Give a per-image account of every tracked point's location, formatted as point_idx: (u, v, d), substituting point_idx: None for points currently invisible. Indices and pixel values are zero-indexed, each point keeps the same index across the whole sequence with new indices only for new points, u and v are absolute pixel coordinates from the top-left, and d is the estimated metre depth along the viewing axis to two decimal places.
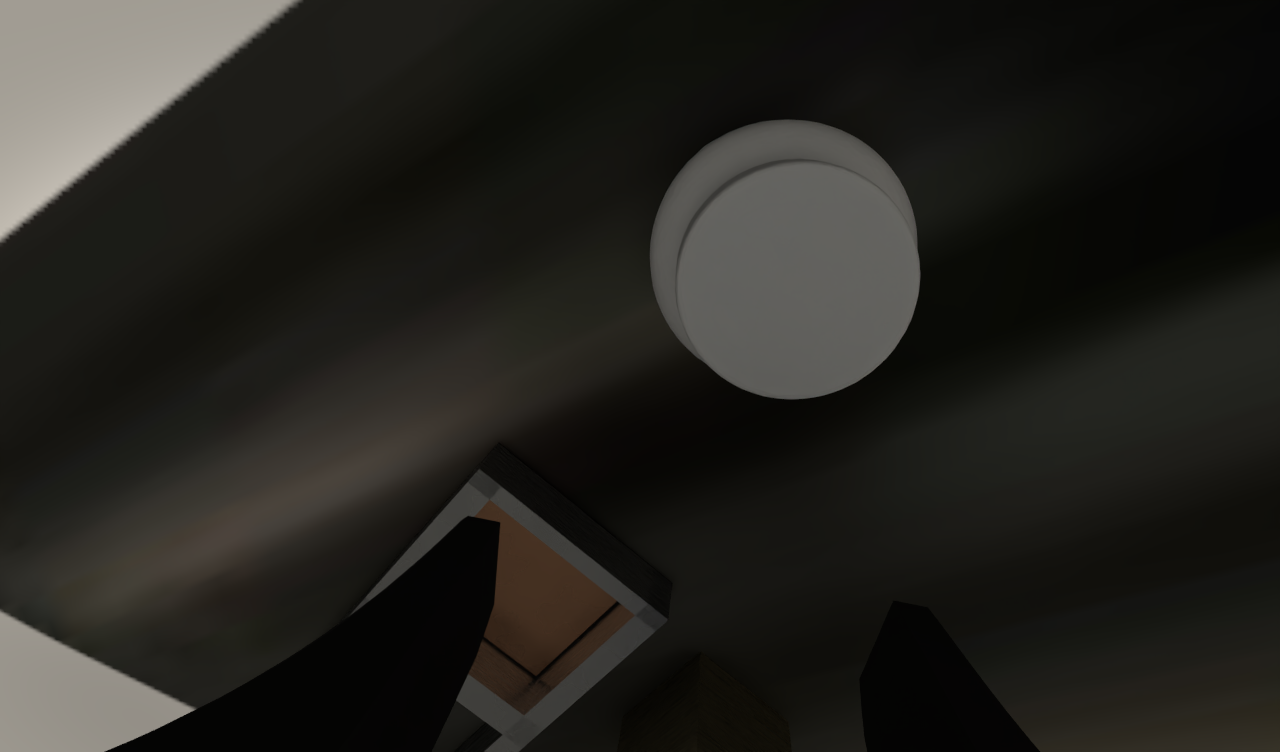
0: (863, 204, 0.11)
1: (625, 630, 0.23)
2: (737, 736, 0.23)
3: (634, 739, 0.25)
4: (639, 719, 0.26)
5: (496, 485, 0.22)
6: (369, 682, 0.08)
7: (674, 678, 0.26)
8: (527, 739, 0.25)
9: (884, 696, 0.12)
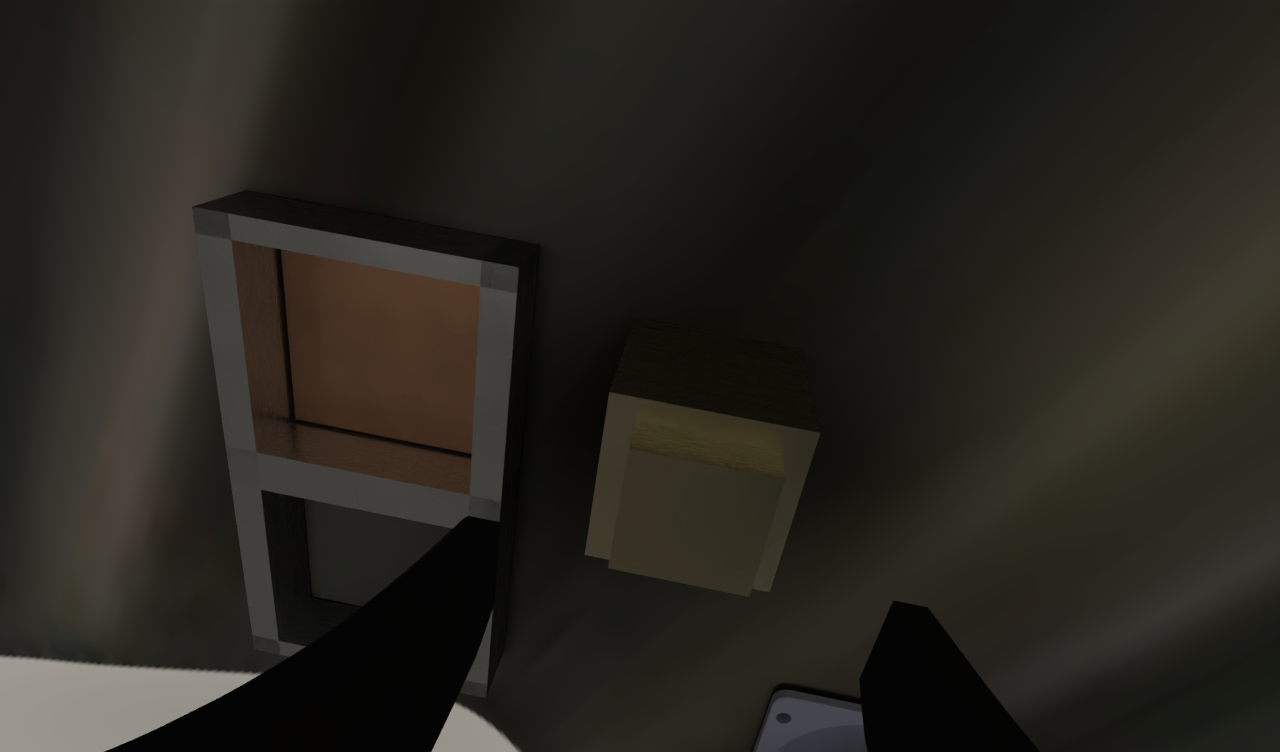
0: None
1: (486, 315, 0.17)
2: (696, 371, 0.16)
3: None
4: None
5: (223, 216, 0.17)
6: (369, 683, 0.08)
7: None
8: None
9: (884, 696, 0.12)
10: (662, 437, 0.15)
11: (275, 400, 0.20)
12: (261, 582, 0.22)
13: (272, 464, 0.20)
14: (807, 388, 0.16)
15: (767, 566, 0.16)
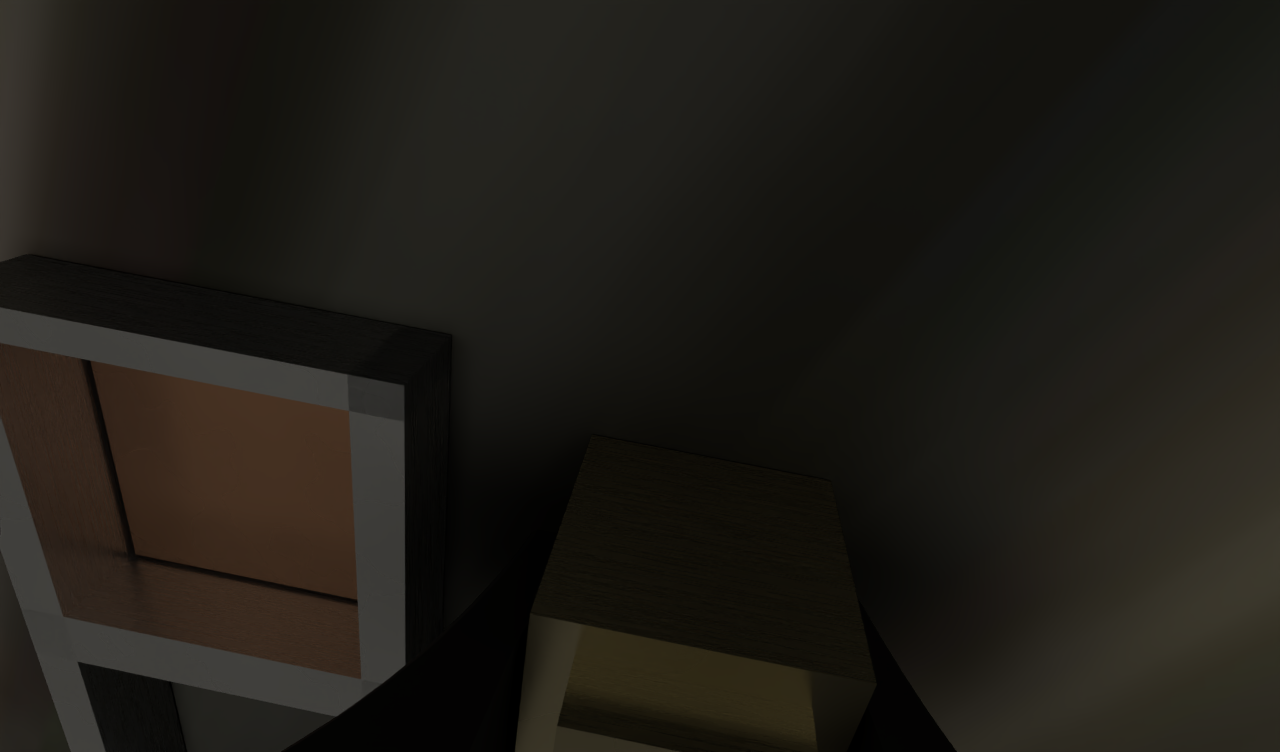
0: None
1: (361, 450, 0.11)
2: (675, 549, 0.10)
3: None
4: None
5: None
6: (472, 704, 0.08)
7: None
8: None
9: None
10: (616, 689, 0.09)
11: (94, 539, 0.14)
12: None
13: (87, 632, 0.14)
14: (847, 573, 0.11)
15: None
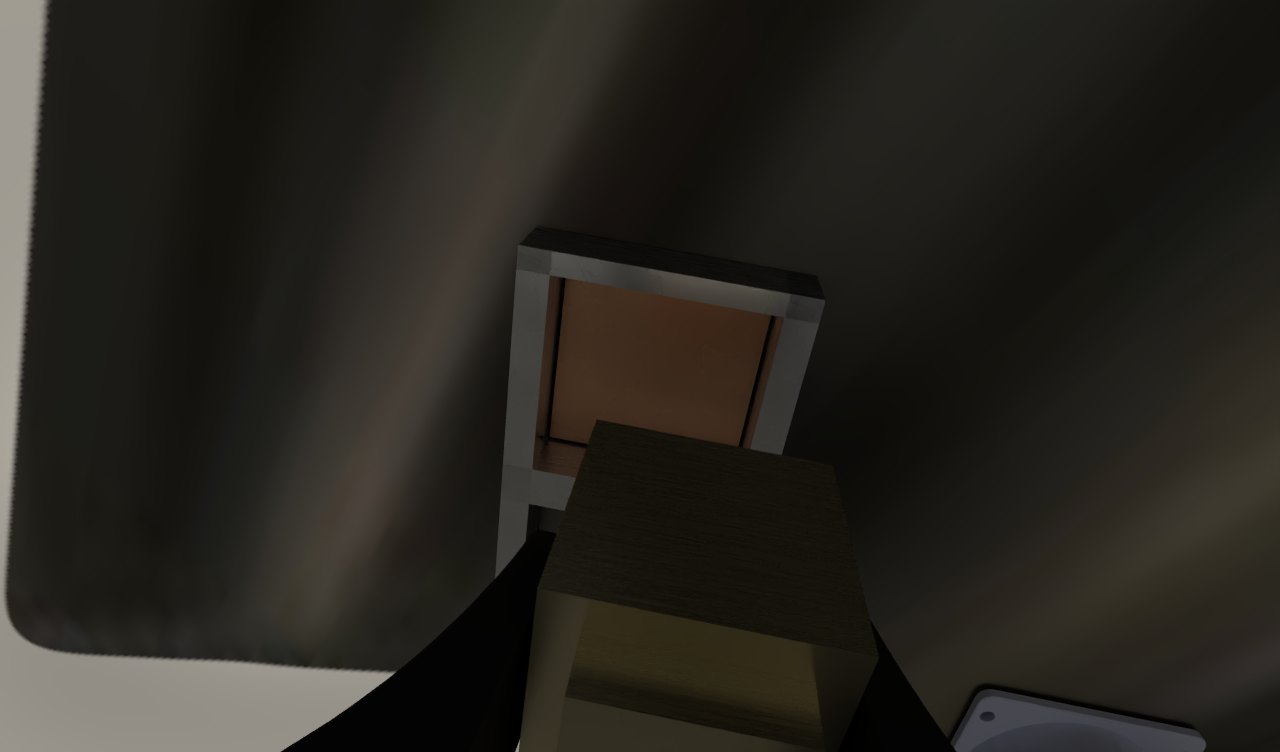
0: None
1: (784, 343, 0.18)
2: (679, 527, 0.11)
3: None
4: None
5: (546, 253, 0.18)
6: (472, 704, 0.08)
7: None
8: None
9: None
10: (623, 662, 0.09)
11: (543, 420, 0.21)
12: None
13: (545, 480, 0.21)
14: (849, 552, 0.11)
15: None
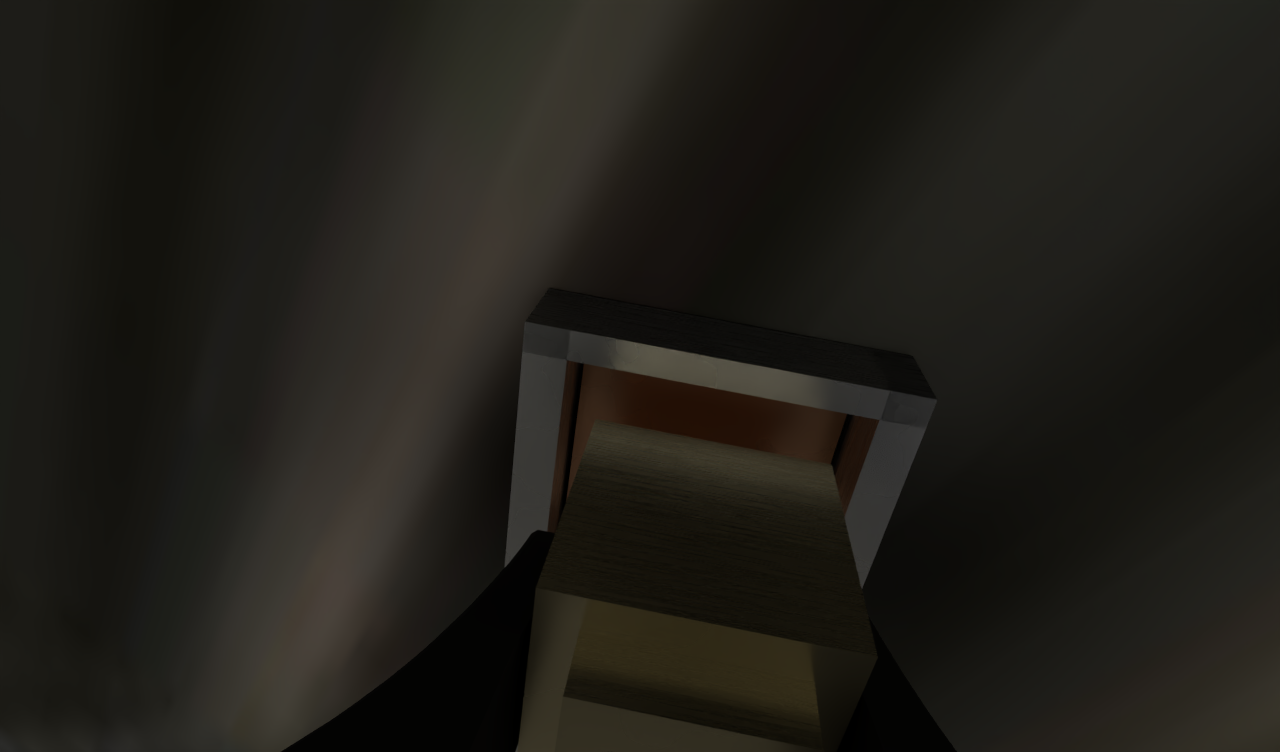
0: None
1: (877, 451, 0.14)
2: (678, 527, 0.11)
3: None
4: None
5: (563, 333, 0.13)
6: (472, 704, 0.08)
7: None
8: None
9: None
10: (621, 662, 0.09)
11: (554, 527, 0.17)
12: None
13: None
14: (848, 552, 0.11)
15: None
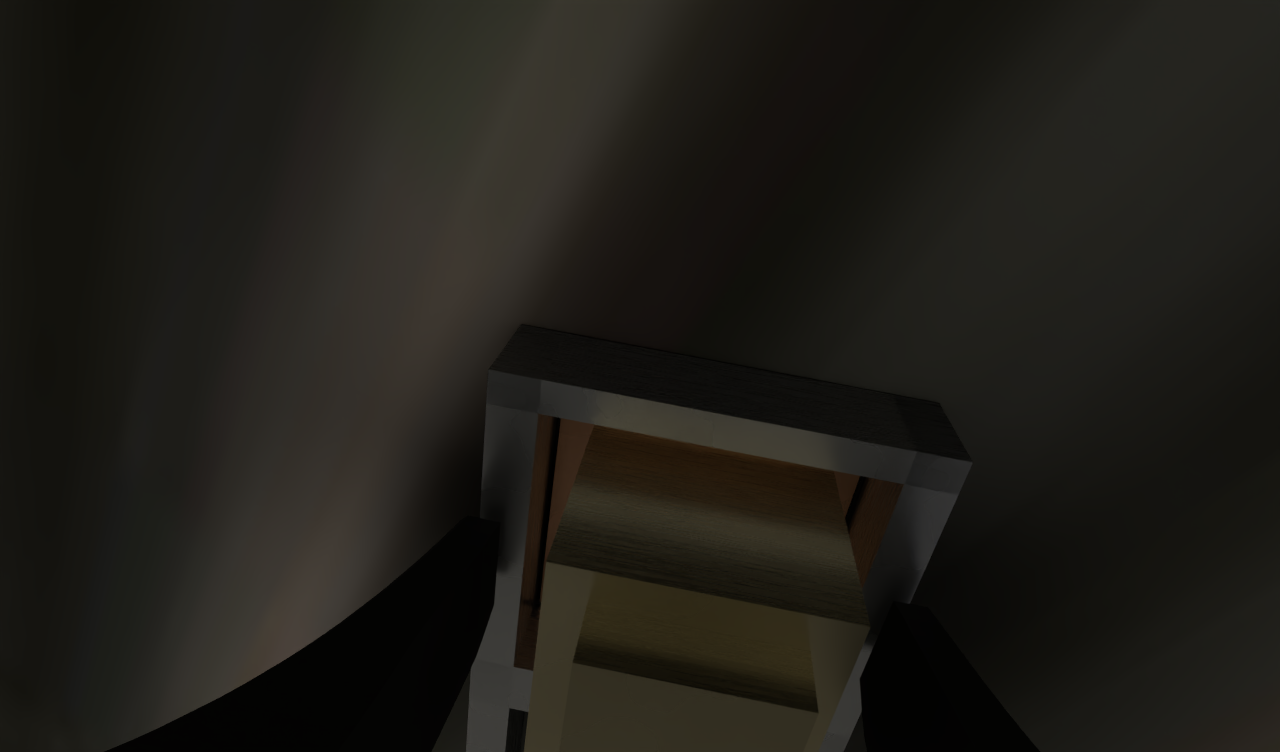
0: None
1: (900, 519, 0.12)
2: (681, 507, 0.11)
3: None
4: None
5: (533, 382, 0.11)
6: (369, 683, 0.08)
7: None
8: None
9: (884, 696, 0.12)
10: (627, 632, 0.09)
11: (530, 591, 0.15)
12: None
13: None
14: (843, 531, 0.11)
15: None
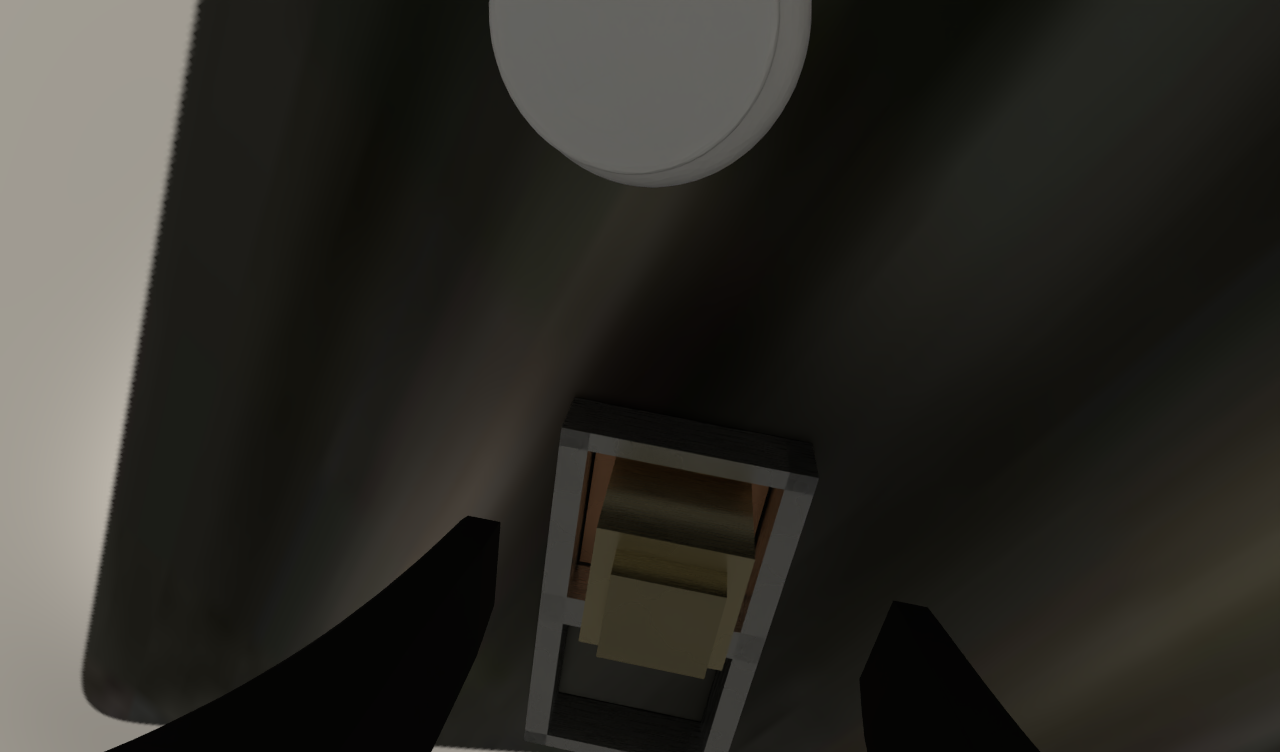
0: None
1: (784, 508, 0.22)
2: (664, 501, 0.21)
3: None
4: None
5: (585, 434, 0.21)
6: (369, 683, 0.08)
7: None
8: (757, 653, 0.24)
9: (884, 696, 0.12)
10: (636, 562, 0.19)
11: (576, 553, 0.25)
12: (543, 690, 0.27)
13: (578, 606, 0.24)
14: (750, 514, 0.21)
15: (719, 652, 0.21)
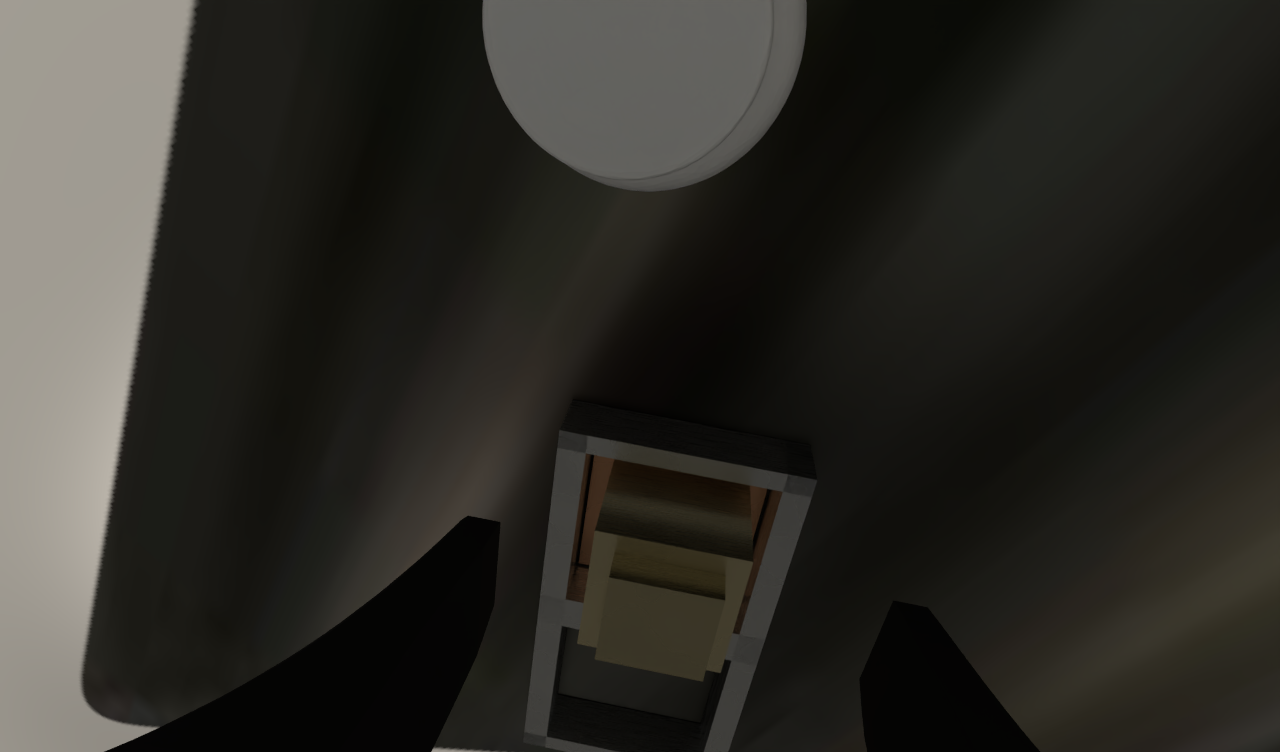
0: None
1: (782, 510, 0.22)
2: (662, 504, 0.21)
3: None
4: None
5: (583, 437, 0.21)
6: (369, 682, 0.08)
7: None
8: (756, 654, 0.24)
9: (884, 696, 0.12)
10: (634, 565, 0.19)
11: (574, 555, 0.25)
12: (543, 692, 0.27)
13: (576, 608, 0.24)
14: (748, 516, 0.21)
15: (718, 654, 0.21)
